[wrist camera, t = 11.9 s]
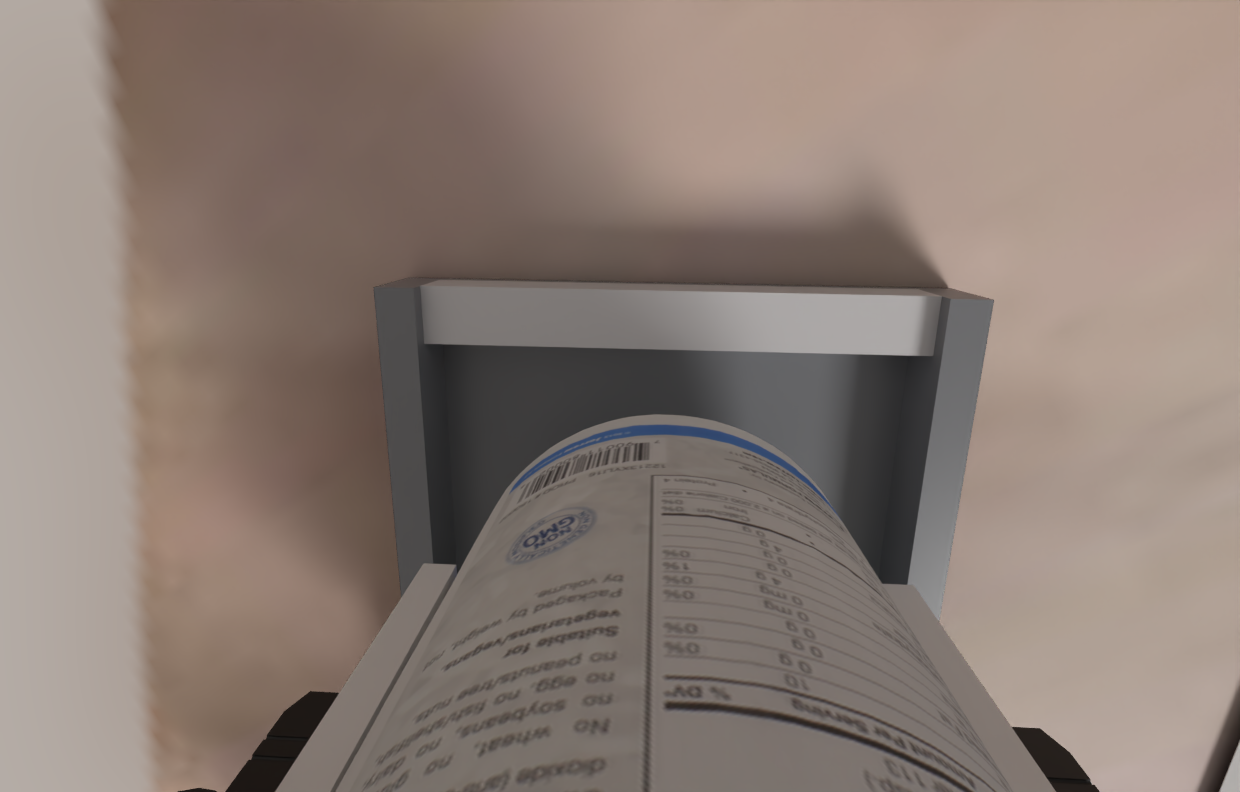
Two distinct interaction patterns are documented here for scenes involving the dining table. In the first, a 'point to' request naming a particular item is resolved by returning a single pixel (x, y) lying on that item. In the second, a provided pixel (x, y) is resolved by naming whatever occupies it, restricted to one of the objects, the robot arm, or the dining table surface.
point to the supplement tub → (668, 639)
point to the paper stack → (1232, 774)
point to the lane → (684, 395)
